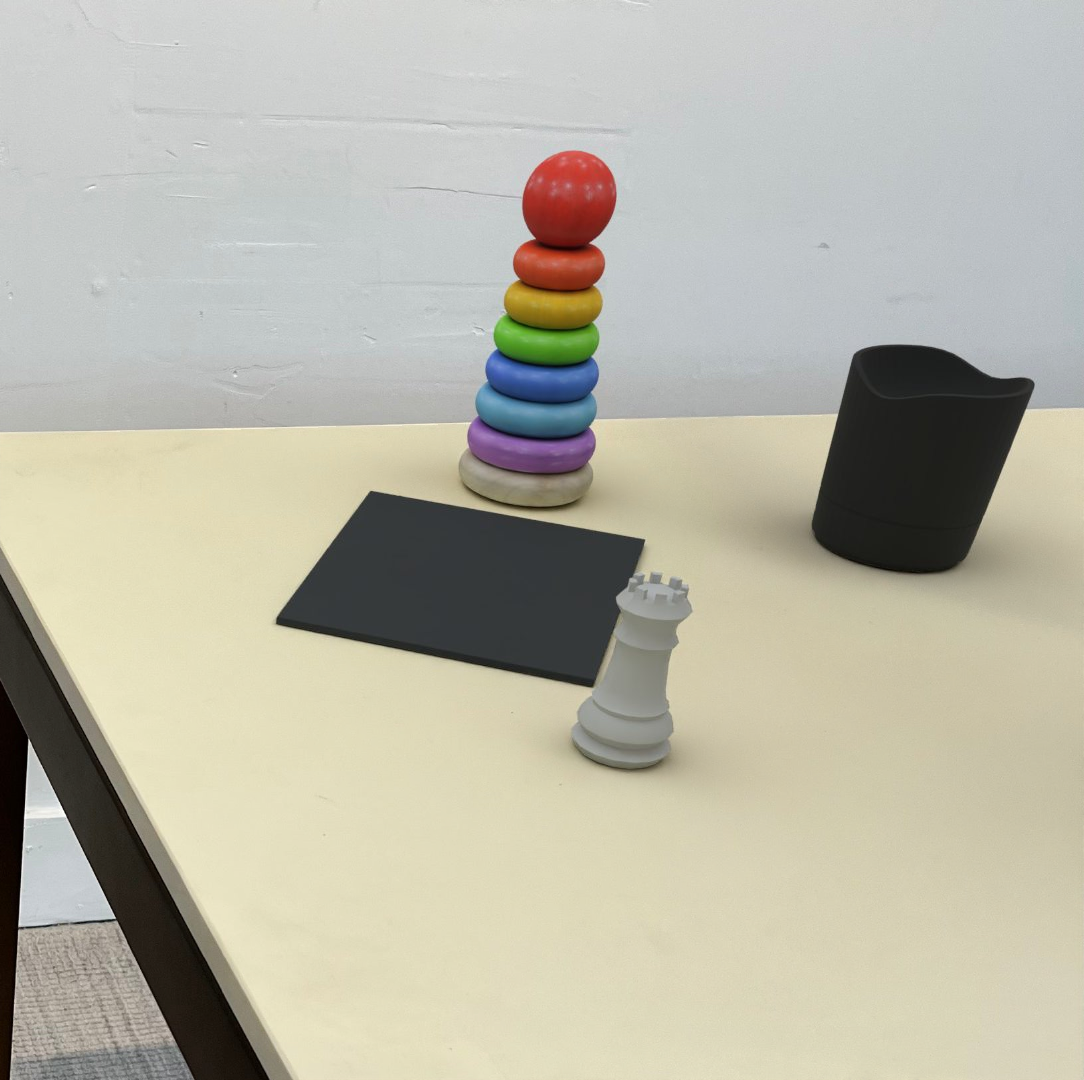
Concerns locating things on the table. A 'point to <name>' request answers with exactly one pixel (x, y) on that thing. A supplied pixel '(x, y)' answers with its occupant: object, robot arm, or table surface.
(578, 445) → the stacking toy
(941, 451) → the pen holder
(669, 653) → the rook chess piece
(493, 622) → the felt mat
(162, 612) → the table surface
